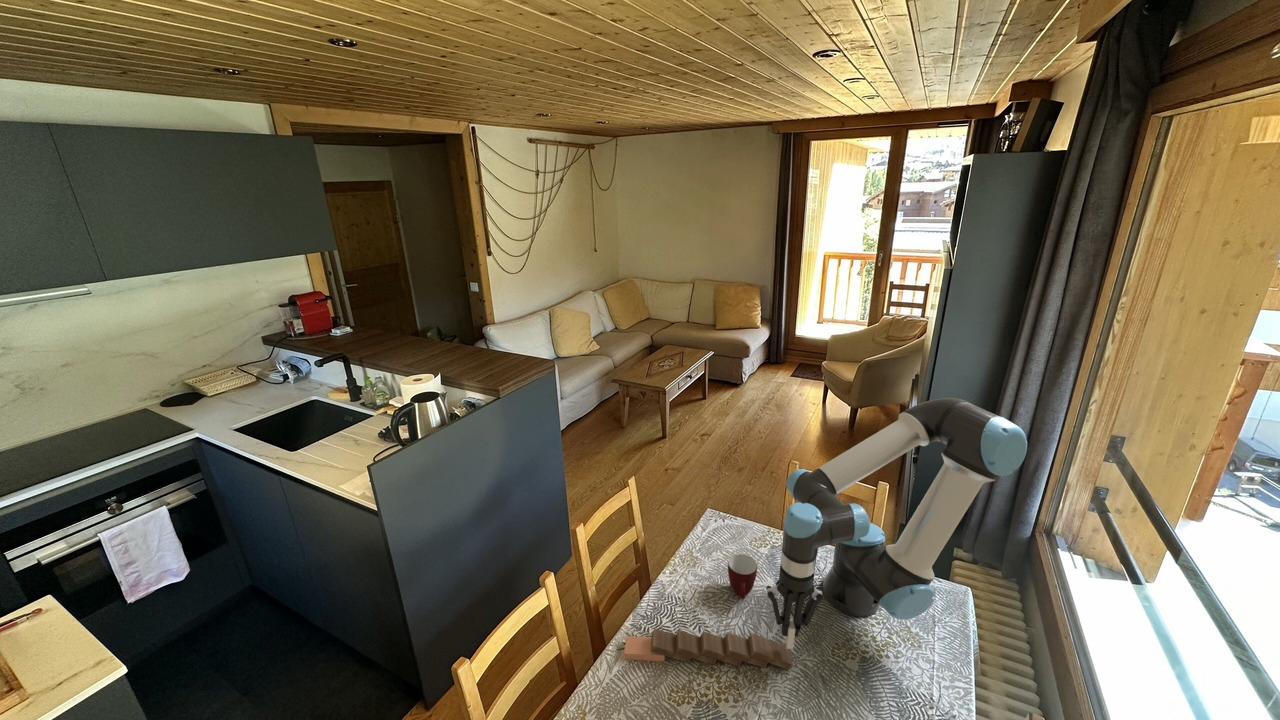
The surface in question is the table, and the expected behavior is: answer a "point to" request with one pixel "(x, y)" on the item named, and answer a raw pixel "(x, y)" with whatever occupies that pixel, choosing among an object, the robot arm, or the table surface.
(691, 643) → the domino
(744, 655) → the domino
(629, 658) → the domino
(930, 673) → the table surface
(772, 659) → the domino
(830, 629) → the table surface
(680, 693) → the table surface
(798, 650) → the table surface
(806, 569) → the robot arm
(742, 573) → the mug
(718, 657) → the domino
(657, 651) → the domino
